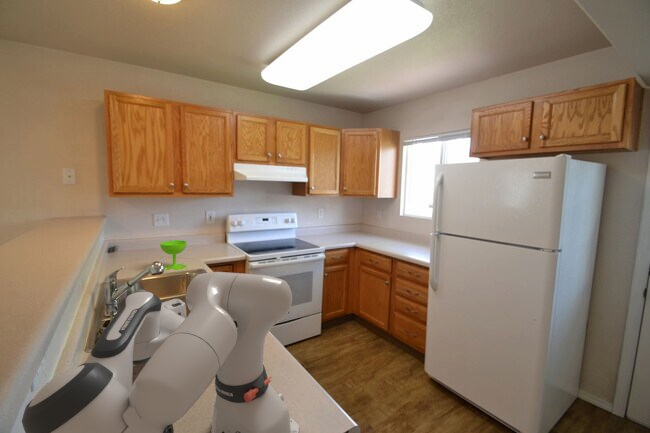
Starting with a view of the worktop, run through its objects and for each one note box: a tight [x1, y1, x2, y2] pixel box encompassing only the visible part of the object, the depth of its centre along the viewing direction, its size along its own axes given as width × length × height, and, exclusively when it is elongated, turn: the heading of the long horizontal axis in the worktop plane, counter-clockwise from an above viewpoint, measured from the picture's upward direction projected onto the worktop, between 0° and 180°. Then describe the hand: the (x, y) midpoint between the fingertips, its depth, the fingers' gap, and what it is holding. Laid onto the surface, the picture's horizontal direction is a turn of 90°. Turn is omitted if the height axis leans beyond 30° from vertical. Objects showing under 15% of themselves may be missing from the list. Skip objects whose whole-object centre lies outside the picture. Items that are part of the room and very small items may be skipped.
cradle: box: [133, 363, 145, 374], centre depth 94 cm, size 8×8×2 cm
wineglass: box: [159, 239, 188, 270], centre depth 200 cm, size 16×16×18 cm
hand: (140, 308), depth 100 cm, fingers closed on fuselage, 4 cm apart
